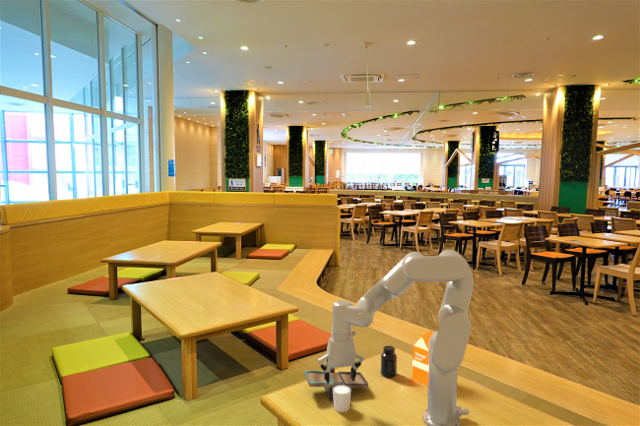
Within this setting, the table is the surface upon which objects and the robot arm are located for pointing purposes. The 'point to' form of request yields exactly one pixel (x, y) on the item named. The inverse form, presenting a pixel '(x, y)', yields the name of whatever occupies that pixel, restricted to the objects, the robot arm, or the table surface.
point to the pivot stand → (330, 389)
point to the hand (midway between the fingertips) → (340, 380)
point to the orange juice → (421, 359)
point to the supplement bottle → (388, 362)
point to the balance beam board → (334, 379)
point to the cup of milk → (341, 398)
